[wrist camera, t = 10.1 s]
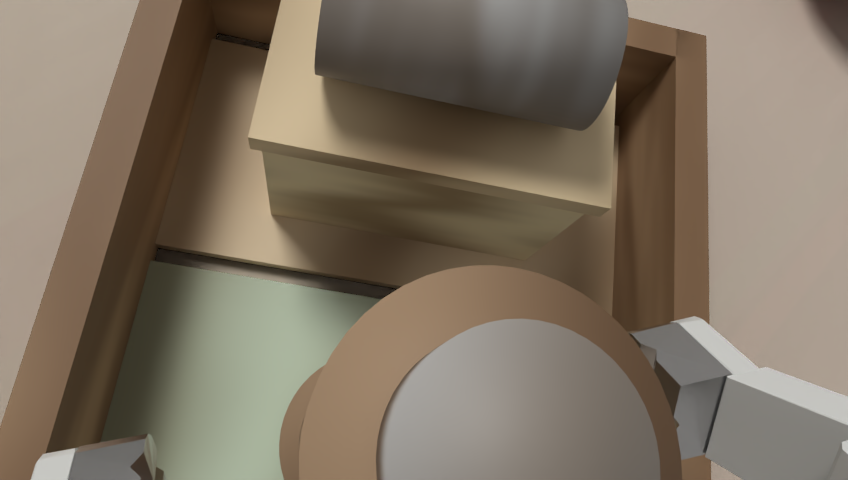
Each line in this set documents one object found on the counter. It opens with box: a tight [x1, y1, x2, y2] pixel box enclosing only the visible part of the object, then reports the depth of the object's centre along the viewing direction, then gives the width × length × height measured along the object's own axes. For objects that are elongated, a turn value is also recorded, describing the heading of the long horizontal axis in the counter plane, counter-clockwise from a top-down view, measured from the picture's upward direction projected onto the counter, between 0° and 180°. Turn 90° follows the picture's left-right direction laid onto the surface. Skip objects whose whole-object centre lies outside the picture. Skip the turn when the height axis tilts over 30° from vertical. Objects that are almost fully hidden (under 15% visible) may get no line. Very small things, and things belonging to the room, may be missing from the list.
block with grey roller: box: [248, 0, 628, 261], centre depth 16 cm, size 8×5×9 cm, turn 82°
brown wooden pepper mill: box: [279, 265, 682, 480], centre depth 12 cm, size 5×5×13 cm
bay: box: [0, 0, 711, 480], centre depth 18 cm, size 16×17×4 cm
